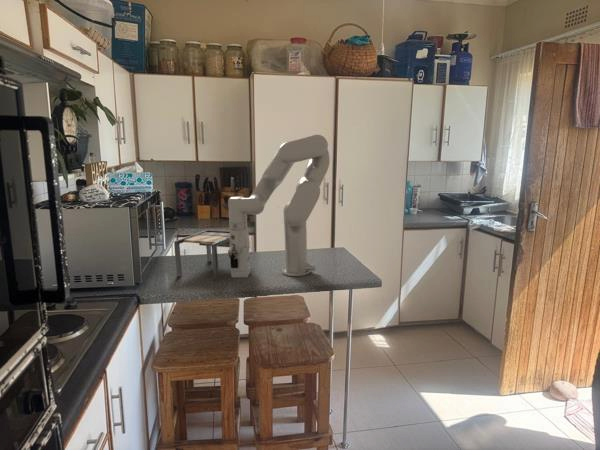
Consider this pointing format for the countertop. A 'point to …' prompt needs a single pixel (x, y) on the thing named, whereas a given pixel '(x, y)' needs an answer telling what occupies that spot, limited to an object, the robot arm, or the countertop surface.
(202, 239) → the trapdoor
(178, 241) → the frame
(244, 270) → the supplement box
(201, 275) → the countertop surface
